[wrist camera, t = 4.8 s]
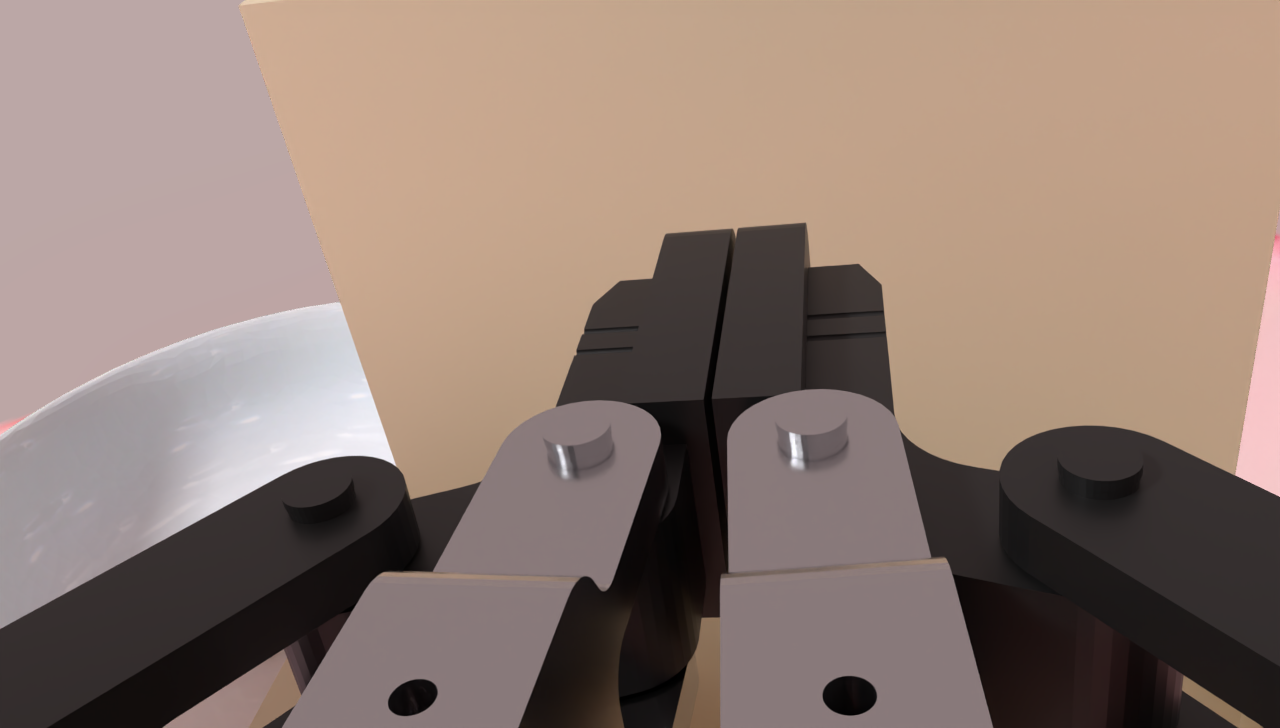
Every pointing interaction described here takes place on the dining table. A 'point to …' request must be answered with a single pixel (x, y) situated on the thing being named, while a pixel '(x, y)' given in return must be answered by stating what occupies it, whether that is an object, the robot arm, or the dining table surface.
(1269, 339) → the dining table surface
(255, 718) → the carton
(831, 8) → the carton flap
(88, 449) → the serving bowl
